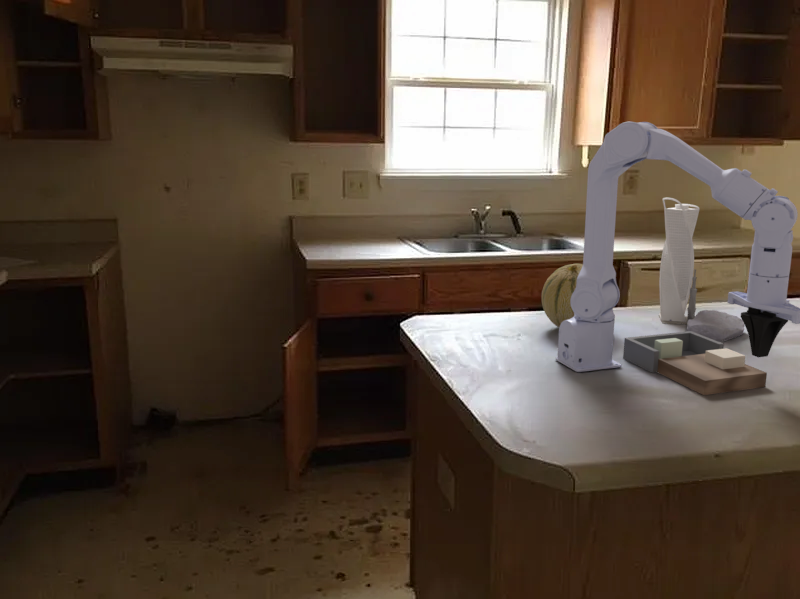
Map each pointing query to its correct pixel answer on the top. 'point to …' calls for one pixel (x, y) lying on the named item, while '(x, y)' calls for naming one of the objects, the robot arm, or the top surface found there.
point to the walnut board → (710, 375)
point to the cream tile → (724, 358)
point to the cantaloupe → (560, 293)
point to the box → (647, 356)
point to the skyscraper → (678, 264)
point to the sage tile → (669, 347)
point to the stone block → (716, 325)
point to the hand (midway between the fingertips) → (759, 355)
